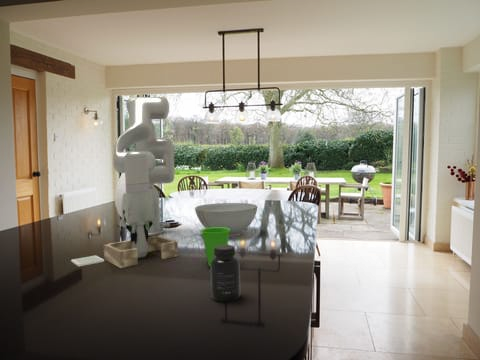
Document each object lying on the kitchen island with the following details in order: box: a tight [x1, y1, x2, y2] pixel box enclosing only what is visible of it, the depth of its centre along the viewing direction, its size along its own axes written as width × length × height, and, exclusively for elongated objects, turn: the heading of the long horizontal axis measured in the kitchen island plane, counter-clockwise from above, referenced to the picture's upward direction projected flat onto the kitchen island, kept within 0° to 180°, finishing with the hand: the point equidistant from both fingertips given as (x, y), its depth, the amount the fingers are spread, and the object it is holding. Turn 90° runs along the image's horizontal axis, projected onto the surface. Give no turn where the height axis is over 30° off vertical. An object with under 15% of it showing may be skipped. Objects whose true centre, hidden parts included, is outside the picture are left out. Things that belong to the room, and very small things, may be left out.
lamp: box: [114, 173, 129, 225], centre depth 188 cm, size 16×16×35 cm
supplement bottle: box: [210, 244, 241, 303], centre depth 88 cm, size 7×7×12 cm
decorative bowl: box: [194, 202, 259, 238], centre depth 161 cm, size 27×27×12 cm
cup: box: [200, 227, 230, 268], centre depth 114 cm, size 9×9×11 cm
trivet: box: [70, 255, 105, 267], centre depth 122 cm, size 8×8×1 cm
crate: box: [103, 235, 179, 269], centre depth 126 cm, size 20×14×5 cm
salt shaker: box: [131, 221, 149, 259], centre depth 127 cm, size 6×6×13 cm
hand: (139, 242), depth 127 cm, fingers closed on salt shaker, 3 cm apart
